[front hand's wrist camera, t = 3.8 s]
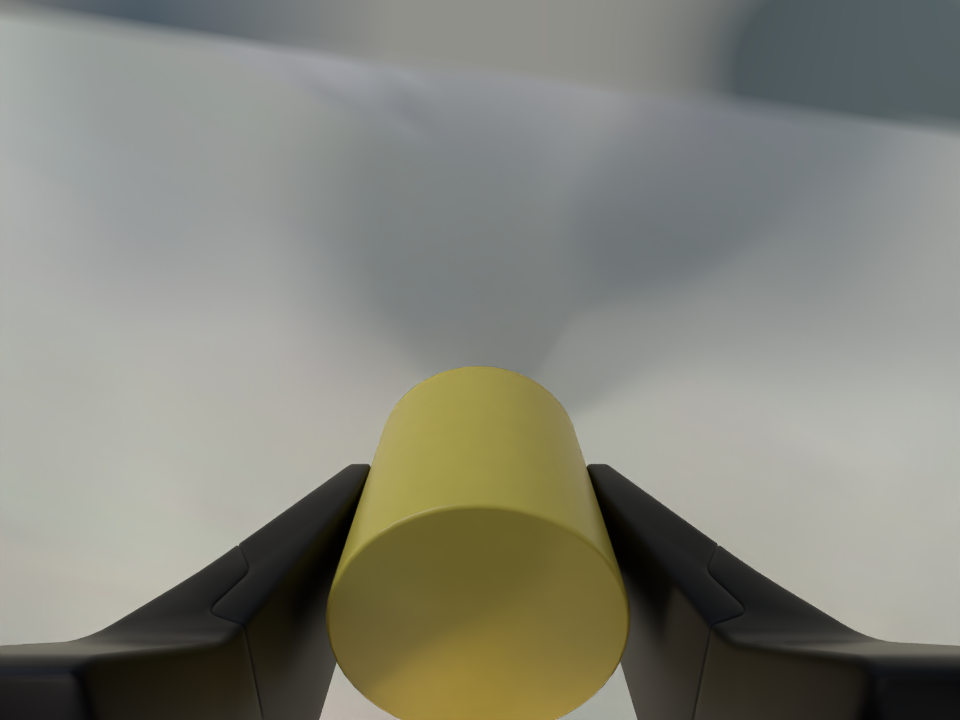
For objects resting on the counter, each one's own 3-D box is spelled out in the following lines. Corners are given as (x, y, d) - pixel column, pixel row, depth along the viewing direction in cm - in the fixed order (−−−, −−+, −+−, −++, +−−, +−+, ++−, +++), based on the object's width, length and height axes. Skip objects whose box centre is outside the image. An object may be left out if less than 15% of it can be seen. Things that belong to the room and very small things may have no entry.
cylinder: (517, 328, 12) (541, 449, 7) (610, 486, 13) (681, 673, 8) (341, 424, 12) (261, 589, 8) (446, 563, 14) (430, 772, 9)
